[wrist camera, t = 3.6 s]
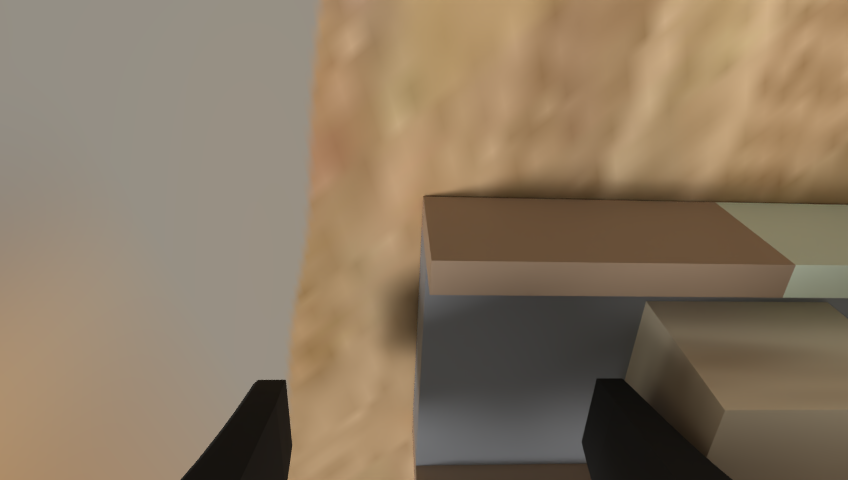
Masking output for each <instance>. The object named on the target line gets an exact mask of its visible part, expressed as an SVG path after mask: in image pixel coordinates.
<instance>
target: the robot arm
mask: <svg viewBox="0 0 848 480" xmlns="http://www.w3.org/2000/svg"><path fill="white" fill-rule="evenodd" d="M582 446H583V450H584V454H585V458H586V462H587V466H588V470H589V473H590V477H591V480H732V479H731V478H730V477H729V476H728V475H726V474H725V473H724V472H723V471H722V470H720V469H719V468H718V467H717V466H716V465H714V464H713V463H712V462H711V461H710V460H709V459H708V458H706V457H705V456H704V455H703V454H702V453H701V452H700V451H698V450H697V449H696V448H695V447H694V446H693V445H692V444H691V443H690V442H689V441H687V440H686V439H685V438H684V437H683V436H682V435H681V434H680V433H679V432H678V431H677V430H676V429H675V428H674V427H672V426H671V425H670V424H669V423H668V422H667V421H666V420H665V419H664V418H663V417H662V416H661V415H660V414H659V413H658V412H657V411H656V410H655V409H654V408H653V407H652V406H651V405H650V404H649V403H648V402H646V401H645V400H644V399H643V398H642V397H641V396H640V395H639V394H638V393H637V392H636V391H635V390H634V389H633V388H632V387H631V386H630V385H629V384H628V383H627V382H626V381H625V380H624V379H622V378H597V379H596V383H595V387H594V392H593V396H592V400H591V404H590V408H589V412H588V417H587V421H586V425H585V429H584V433H583V437H582ZM291 450H292V439H291V429H290V418H289V408H288V398H287V388H286V380H258V381H257V382H255V383H254V384H253V386H252V387H251V389H250V391H249V392H248V393H247V395H246V396H245V398H244V399H243V401H242V402H241V404H240V405H239V406H238V408H237V409H236V411H235V412H234V413H233V415H232V416H231V418H230V419H229V420H228V422H227V423H226V424H225V426H224V427H223V428H222V430H221V431H220V432H219V434H218V435H217V436H216V437H215V439H214V440H213V441H212V443H211V444H210V445H209V446H208V448H207V449H206V450H205V452H204V453H203V454H202V455H201V456H200V458H199V459H198V460H197V461H196V463H195V464H194V465H193V466H192V467H191V468H190V469H189V471H188V472H187V473H186V474H185V475H184V476H183V478H182V479H181V480H287V479H288V472H289V465H290V457H291Z"/></svg>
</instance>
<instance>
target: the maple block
mask: <svg viewBox="0 0 848 480" xmlns="http://www.w3.org/2000/svg"><path fill="white" fill-rule="evenodd" d="M625 381H626V382H627V383H628V384H629V385H630V386H631V387H632V388H633V389H634V390H635V391H636V392H637V393H638V394H639V395H640V396H641V397H642V398H643V399H644V400H645V401H646V402H648V403H649V404H650V405H651V406H652V407H653V408H654V409H655V410H656V411H657V412H658V413H659V414H660V415H661V416H662V417H663V418H664V419H665V420H666V421H667V422H668V423H669V424H670V425H671V426H672V427H674V428H675V429H676V430H677V431H678V432H679V433H680V434H681V435H682V436H683V437H684V438H685V439H686V440H687V441H689V442H690V443H691V444H692V445H693V446H694V447H695V448H696V449H697V450H698V451H700V452H701V453H702V454H703V455H704V456H705V457H706V458H708V459H709V460H710V461H711V462H712V463H713V464H714V465H716V466H717V467H718V468H719V469H720V470H722V471H723V472H724V473H725V474H726V475H728V476H729V477H730V478H731V479H732V480H848V319H847V318H846V317H845V316H844V315H843V314H841V313H840V312H839V311H838V310H836V309H835V308H834V307H833V306H831V305H830V304H829V303H828V302H707V301H646V303H645V307H644V311H643V314H642V318H641V322H640V325H639V329H638V333H637V336H636V340H635V344H634V347H633V351H632V355H631V358H630V362H629V366H628V369H627V373H626V377H625Z"/></svg>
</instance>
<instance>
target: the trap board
mask: <svg viewBox="0 0 848 480" xmlns="http://www.w3.org/2000/svg"><path fill="white" fill-rule="evenodd" d="M646 301H707V302H828V303H829V304H830V305H831V306H833V307H834V308H835V309H836V310H838V311H839V312H840V313H841V314H843V315H844V316H845V317H846V318H847V319H848V205H835V204H784V203H733V202H682V201H631V200H581V199H530V198H479V197H428V196H423V214H422V236H421V257H420V279H419V300H418V322H417V343H416V365H415V386H414V408H413V429H412V433H413V456H414V479H415V480H591V477H590V473H589V470H588V466H587V462H586V458H585V454H584V450H583V446H582V437H583V433H584V429H585V425H586V421H587V417H588V412H589V408H590V404H591V400H592V396H593V392H594V387H595V383H596V379H597V378H622V379H624V380H625V377H626V373H627V369H628V366H629V362H630V358H631V355H632V351H633V347H634V344H635V340H636V336H637V333H638V329H639V325H640V322H641V318H642V314H643V311H644V307H645V303H646Z"/></svg>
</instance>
